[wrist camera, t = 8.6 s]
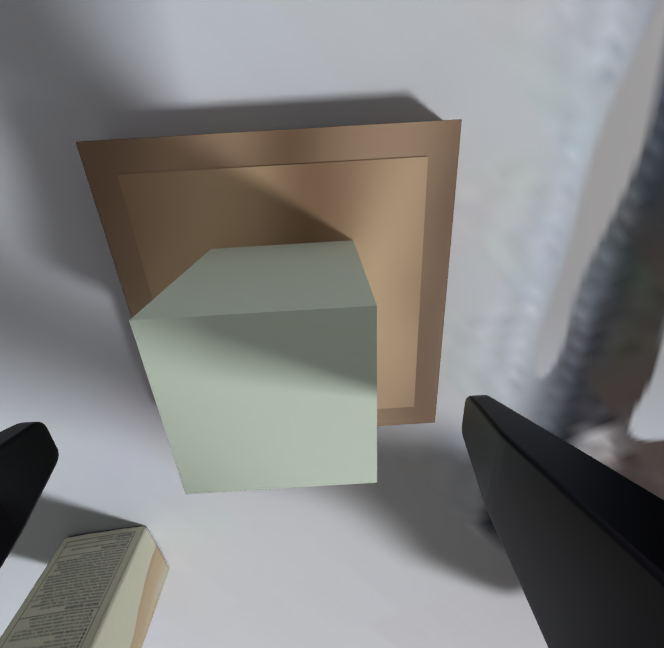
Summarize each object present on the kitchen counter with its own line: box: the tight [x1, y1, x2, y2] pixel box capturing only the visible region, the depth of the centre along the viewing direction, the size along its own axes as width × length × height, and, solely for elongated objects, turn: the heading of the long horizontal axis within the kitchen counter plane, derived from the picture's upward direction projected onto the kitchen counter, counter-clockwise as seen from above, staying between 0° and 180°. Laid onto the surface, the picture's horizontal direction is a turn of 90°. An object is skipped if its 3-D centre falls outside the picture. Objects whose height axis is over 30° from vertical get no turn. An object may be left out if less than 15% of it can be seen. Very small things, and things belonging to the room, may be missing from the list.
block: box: [129, 240, 377, 494], centre depth 11 cm, size 5×5×6 cm
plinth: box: [76, 119, 462, 426], centre depth 14 cm, size 12×12×2 cm
